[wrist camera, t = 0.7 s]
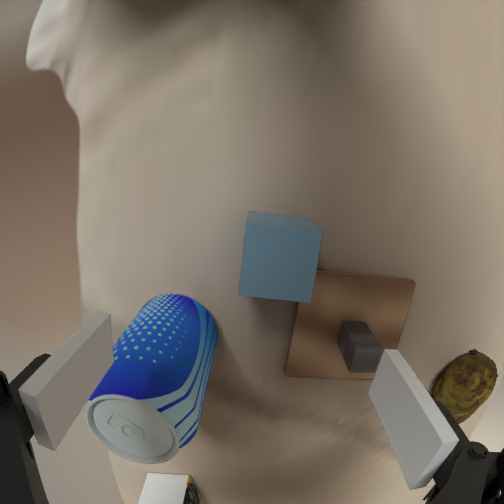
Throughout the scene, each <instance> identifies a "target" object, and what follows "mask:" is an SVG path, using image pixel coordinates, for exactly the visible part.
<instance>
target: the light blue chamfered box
mask: <svg viewBox="0 0 504 504" xmlns="http://www.w3.org/2000/svg"><path fill="white" fill-rule="evenodd" d="M322 234H323V232H322V231H321V230H320V229H319V228H318V227H317V226H316V225H315V224H314V223H313V222H312V221H311V220H310V219H309V218H301V217H293V216H285V215H277V214H269V213H261V212H252V211H249V213H248V218H247V223H246V231H245V240H244V249H243V258H242V267H241V276H240V285H239V294H238V295H240V296H249V297H258V298H267V299H276V300H286V301H296V302H306V303H310V302H311V297H312V292H313V286H314V281H315V275H316V270H317V264H318V258H319V253H320V247H321V240H322Z"/></svg>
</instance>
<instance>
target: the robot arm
mask: <svg viewBox="0 0 504 504" xmlns="http://www.w3.org/2000/svg"><path fill="white" fill-rule="evenodd" d="M113 363H114V356H113V343H112V327H111V314H107V313H103V312H98V311H97V312H96V313H95V314H93V315H92V316H91V317H90V318H89V319H88V320H87V321H86V322H85V323H84V324H83V325H82V326H81V327H80V328H79V329H78V330H77V331H76V332H75V333H74V334H73V335H72V336H71V337H69V339H67V340H66V342H64V343H63V344H62V345H61V346H60V347H59V348H58V350H56V351H55V352H54V353H53V354H52V355H49V354H46V353H45V354H43V355H41V356H39V357H37V358H35V359H34V360H33V361H32V362H31V363H30V364H29V366H27V367H26V368H25V369H24V370H23V371H22V372H21V373H20V374H19V375H18V376H17V377H16V378H15V379H14V380H13V381H12V382H11V383H10V384H8V381H7V378H6V375H5V374H4V373H3V372H2V371H0V504H49V503H48V500H47V497H46V494H45V491H44V488H43V485H42V481H41V478H40V474H39V471H38V467H37V464H36V460H35V456H34V452H33V448H32V445H31V442H30V439H31V438H32V436H33V435H35V437H36V440H37V442H38V444H40V445H42V446H44V447H46V448H49V449H51V450H53V451H55V450H56V448H57V447H58V445H59V443H60V442H61V440H62V439H63V437H64V436H65V434H66V432H67V431H68V429H69V428H70V426H71V425H72V423H73V422H74V420H75V419H76V417H77V416H78V414H79V413H80V411H81V410H82V408H83V406H84V405H85V404H86V402H87V401H88V399H89V398H90V396H91V395H92V393H93V392H94V390H95V389H96V387H97V386H98V384H99V383H100V382H101V380H102V379H103V377H104V376H105V374H106V373H107V371H108V370H109V368H110V367H111V366H112V364H113ZM368 394H369V396H370V399H371V401H372V403H373V405H374V408H375V410H376V412H377V414H378V417H379V419H380V421H381V423H382V426H383V428H384V430H385V433H386V435H387V437H388V440H389V442H390V444H391V447H392V449H393V451H394V454H395V456H396V458H397V461H398V463H399V466H400V468H401V470H402V473H403V475H404V478H405V480H406V483H407V485H408V487H409V490H412V489H417V488H422V487H426V485H427V484H428V483H429V482H430V480H431V479H432V478H433V479H434V481H435V483H436V484H435V485H434V486H433V488H432V489H431V490H430V491H429V492H428V494H427V495H426V496H425V497H424V499H423V500H426V499H427V497H428V499H427V501H426V503H425V504H504V448H503V450H502V451H501V452H489V451H488V449H487V448H486V447H485V446H484V445H483V444H481V443H479V442H470V441H469V440H468V438H467V437H466V435H465V434H464V432H463V431H462V429H461V428H460V426H459V425H458V423H457V422H455V421H456V420H455V419H454V417H453V416H451V415H452V414H451V413H450V412H449V410H448V409H447V407H446V406H444V405H443V404H442V403H441V402H439V401H433V399H432V398H431V396H430V395H429V393H428V392H427V390H426V389H425V387H424V386H423V384H422V383H421V382H420V380H419V379H418V377H417V376H416V374H415V373H414V372H413V370H412V369H411V367H410V366H409V364H408V363H407V362H406V360H405V359H404V357H403V356H402V355H401V353H400V352H399V351H398V350H392V349H385V350H384V352H383V355H382V358H381V361H380V364H379V366H378V369H377V372H376V375H375V377H374V380H373V382H372V385H371V388H370V390H369V393H368ZM500 491H501V495H500Z"/></svg>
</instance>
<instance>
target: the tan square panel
mask: <svg viewBox="0 0 504 504" xmlns="http://www.w3.org/2000/svg"><path fill="white" fill-rule="evenodd" d="M415 284H416V283H415V282H414V281H413V280H410V279H400V278H391V277H381V276H372V275H362V274H353V273H344V272H335V271H325V270H316V275H315V281H314V286H313V292H312V297H311V302H310V303H306V302H297V308H296V313H295V319H294V324H293V329H292V335H291V340H290V345H289V350H288V355H287V360H286V365H285V370H284V372H285V376H293V377H310V378H336V379H374V377H375V375H376V372H377V369H378V366H379V364H380V361H381V358H382V355H383V352H384V350H385V349H392V350H396V348H397V345H398V342H399V339H400V336H401V333H402V329H403V326H404V323H405V320H406V316H407V313H408V310H409V306H410V303H411V299H412V295H413V292H414V288H415Z"/></svg>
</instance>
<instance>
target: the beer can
mask: <svg viewBox="0 0 504 504" xmlns="http://www.w3.org/2000/svg"><path fill="white" fill-rule="evenodd" d="M217 337H218V334H217V327H216V324H215V321H214V319H213V317H212V316H211V314H210V313H209V311H208V310H207V309H206V308H205V307H204V306H203V305H202V304H200V303H199V302H197V301H196V300H194V299H192V298H190V297H188V296H184V295H180V294H163V295H159V296H157V297H155V298H153V299H151V300H150V301H148V302H147V303H146V304H145V305H144V307H143V308H142V309H141V310H140V312H139V313H138V314H137V316H136V317H135V318H134V319H133V321H132V322H131V323H130V325H129V326H128V327H127V329H126V330H125V331H124V333H123V334H122V335H121V336H120V338H119V339H118V340H117V342H116V343H115V344H114V346H113V356H114V363H113V364H112V366H111V367H110V368H109V370H108V371H107V373H106V374H105V376H104V377H103V379H102V380H101V382H100V383H99V384H98V386H97V387H96V389H95V390H94V392H93V393H92V395H91V396H90V398H89V399H88V401H87V402H88V406H87V409H86V421H87V424H88V426H89V429H90V430H91V432H92V433H93V435H94V436H95V437H96V438H97V440H98V441H99V442H100V443H102V444H103V445H104V446H105V447H106V448H108V449H109V450H110V451H112V452H114V453H115V454H117V455H119V456H121V457H123V458H126V459H128V460H131V461H135V462H139V463H146V464H157V463H163V462H166V461H168V460H170V459H172V458H173V457H174V456H175V455H176V454H177V452H178V450H179V448H181V447H183V446H184V445H186V444H187V443H188V442H189V441H190V440H191V439H192V438H193V437H194V435H195V434H196V431H197V429H198V425H199V420H200V416H201V411H202V407H203V402H204V397H205V393H206V388H207V384H208V379H209V375H210V370H211V366H212V361H213V357H214V353H215V348H216V344H217Z"/></svg>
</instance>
